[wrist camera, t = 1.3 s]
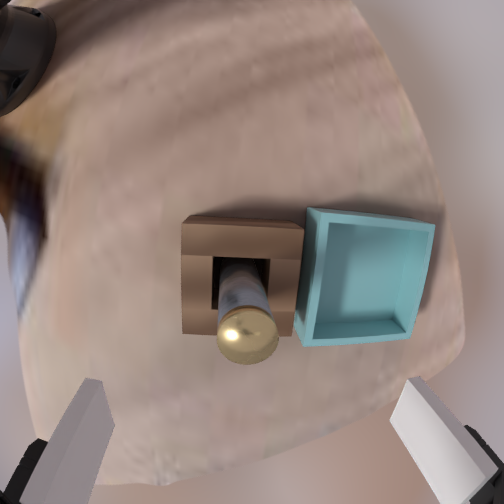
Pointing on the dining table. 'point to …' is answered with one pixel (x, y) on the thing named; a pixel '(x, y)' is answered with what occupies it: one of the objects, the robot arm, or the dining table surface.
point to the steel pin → (244, 314)
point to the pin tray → (360, 277)
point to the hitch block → (245, 246)
